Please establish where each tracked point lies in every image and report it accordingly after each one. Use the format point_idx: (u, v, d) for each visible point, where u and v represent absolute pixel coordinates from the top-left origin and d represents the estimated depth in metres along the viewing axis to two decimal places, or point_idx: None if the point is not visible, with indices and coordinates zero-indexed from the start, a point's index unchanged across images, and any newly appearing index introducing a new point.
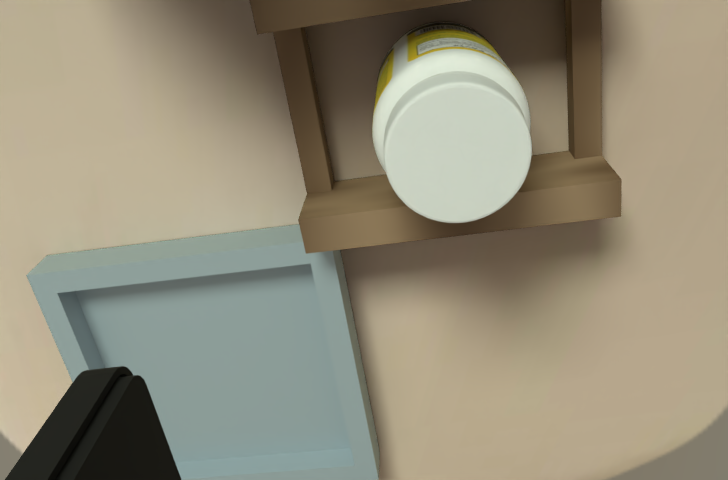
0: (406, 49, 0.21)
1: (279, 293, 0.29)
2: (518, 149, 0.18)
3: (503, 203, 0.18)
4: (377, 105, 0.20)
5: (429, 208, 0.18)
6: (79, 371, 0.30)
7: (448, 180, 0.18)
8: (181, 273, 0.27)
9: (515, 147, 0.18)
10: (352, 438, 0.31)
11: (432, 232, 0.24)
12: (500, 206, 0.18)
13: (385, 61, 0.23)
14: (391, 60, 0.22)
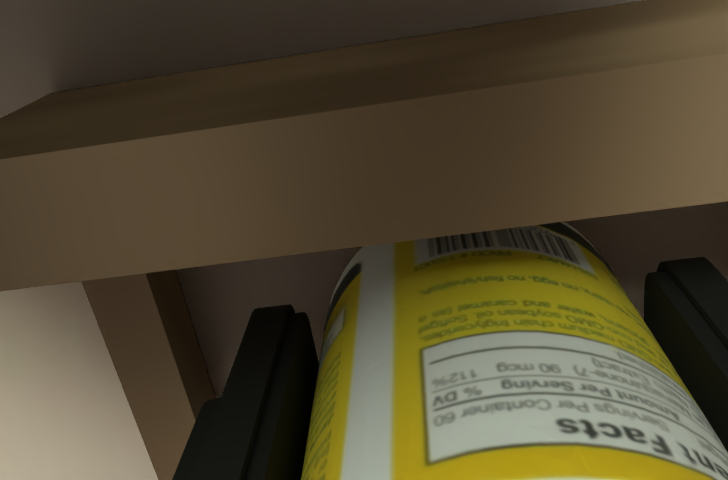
0: (390, 339, 0.07)
1: None
2: None
3: None
4: None
5: None
6: None
7: None
8: None
9: None
10: None
11: None
12: None
13: (339, 306, 0.09)
14: (349, 345, 0.08)
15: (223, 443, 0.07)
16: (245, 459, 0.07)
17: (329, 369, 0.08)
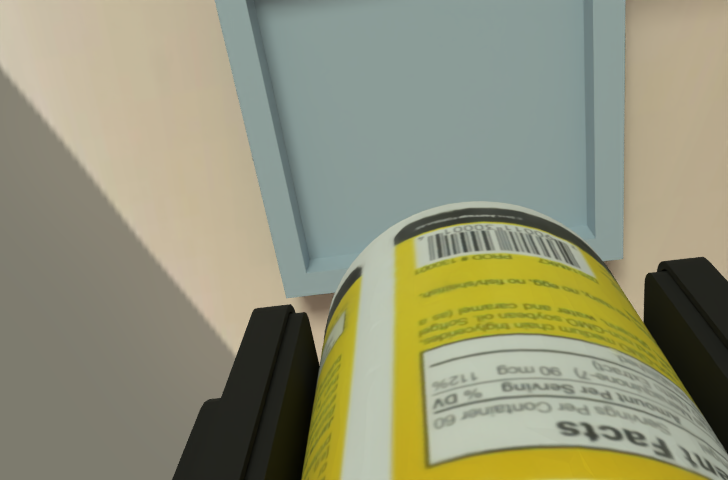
0: (390, 342, 0.07)
1: None
2: None
3: None
4: None
5: None
6: (254, 100, 0.23)
7: None
8: None
9: None
10: (600, 196, 0.24)
11: None
12: None
13: (340, 309, 0.09)
14: (349, 348, 0.08)
15: (223, 443, 0.07)
16: (245, 461, 0.07)
17: (329, 372, 0.08)
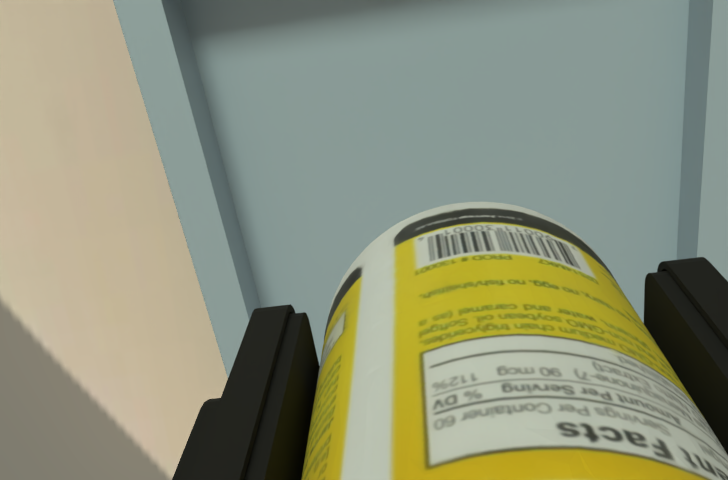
0: (390, 343, 0.07)
1: (598, 11, 0.15)
2: None
3: None
4: None
5: None
6: (190, 180, 0.15)
7: None
8: None
9: None
10: None
11: None
12: None
13: (340, 310, 0.09)
14: (349, 349, 0.08)
15: (223, 443, 0.07)
16: (245, 459, 0.07)
17: (329, 373, 0.08)
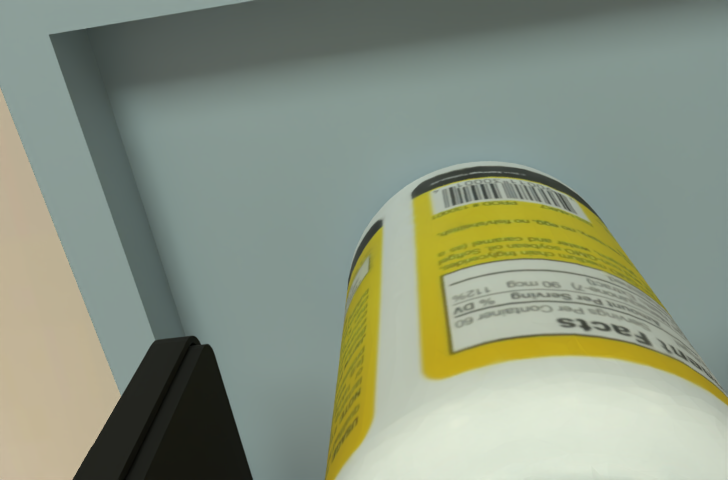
0: (413, 272, 0.08)
1: (670, 56, 0.10)
2: None
3: None
4: None
5: None
6: (108, 284, 0.11)
7: None
8: None
9: None
10: None
11: None
12: None
13: (364, 256, 0.10)
14: (376, 282, 0.09)
15: None
16: None
17: (358, 304, 0.09)
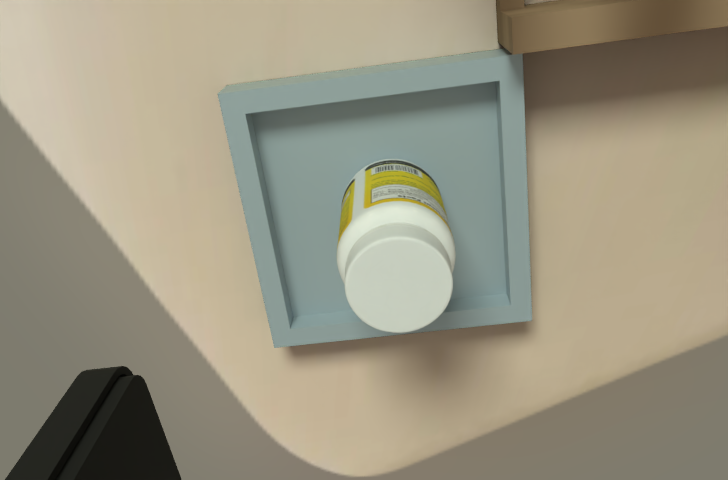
0: (363, 190, 0.28)
1: (454, 122, 0.30)
2: (443, 282, 0.24)
3: (433, 319, 0.25)
4: (340, 240, 0.26)
5: (378, 322, 0.25)
6: (253, 202, 0.31)
7: (392, 303, 0.24)
8: (372, 91, 0.28)
9: (440, 281, 0.24)
10: (512, 274, 0.32)
11: (637, 31, 0.26)
12: (431, 321, 0.25)
13: (348, 191, 0.30)
14: (352, 195, 0.29)
15: None
16: None
17: (346, 203, 0.29)
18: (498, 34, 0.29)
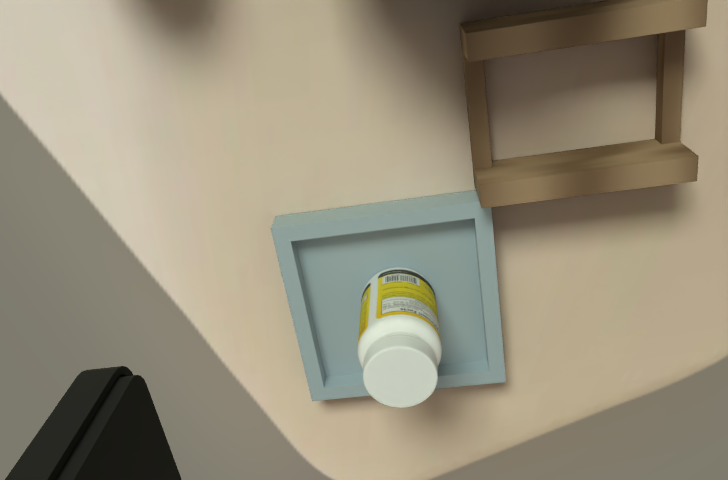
0: (376, 298, 0.39)
1: (444, 242, 0.41)
2: (430, 375, 0.35)
3: (424, 399, 0.35)
4: (360, 340, 0.37)
5: (386, 401, 0.36)
6: (296, 300, 0.42)
7: (396, 388, 0.35)
8: (382, 226, 0.39)
9: (429, 374, 0.35)
10: (490, 349, 0.43)
11: (569, 193, 0.36)
12: (423, 400, 0.36)
13: (365, 293, 0.41)
14: (368, 300, 0.39)
15: None
16: None
17: (364, 305, 0.40)
18: (474, 181, 0.39)
